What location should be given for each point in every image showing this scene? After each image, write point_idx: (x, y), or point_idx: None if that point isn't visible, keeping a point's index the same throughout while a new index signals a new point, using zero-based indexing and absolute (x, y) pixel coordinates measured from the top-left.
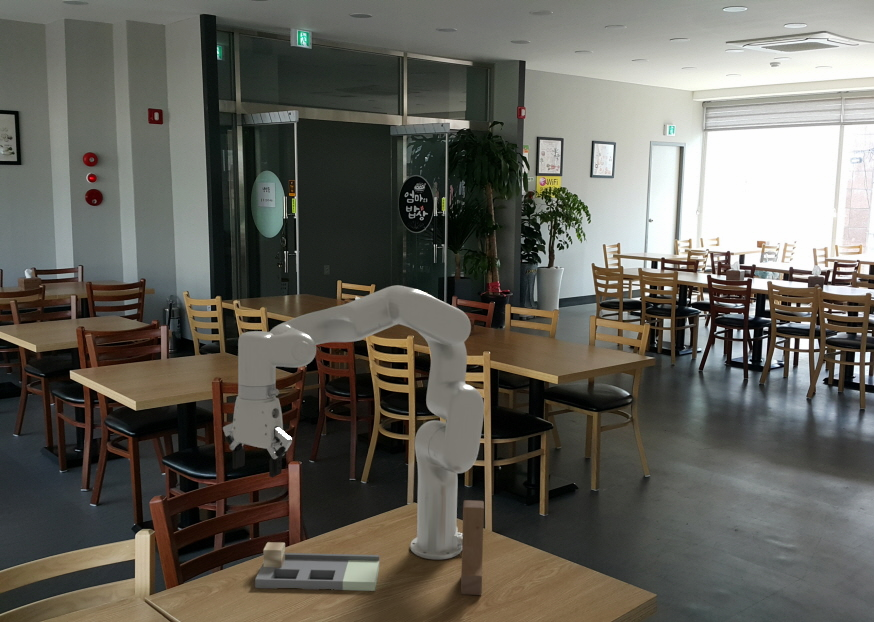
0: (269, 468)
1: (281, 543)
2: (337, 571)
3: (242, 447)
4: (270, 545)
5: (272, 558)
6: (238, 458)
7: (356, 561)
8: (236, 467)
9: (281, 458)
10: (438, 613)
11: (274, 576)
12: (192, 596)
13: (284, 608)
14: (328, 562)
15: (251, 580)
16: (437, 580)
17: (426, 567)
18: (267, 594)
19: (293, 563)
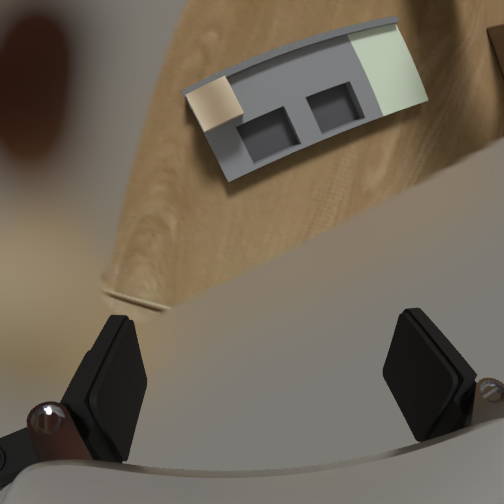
0: (398, 403)
1: (220, 83)
2: (355, 83)
3: (78, 408)
4: (203, 104)
5: (224, 122)
6: (131, 406)
7: (363, 35)
8: (145, 381)
9: (474, 384)
10: (500, 136)
11: (238, 132)
12: (155, 255)
13: (321, 213)
14: (317, 56)
15: (202, 159)
16: (471, 46)
17: (442, 9)
18: (264, 187)
19: (255, 89)
